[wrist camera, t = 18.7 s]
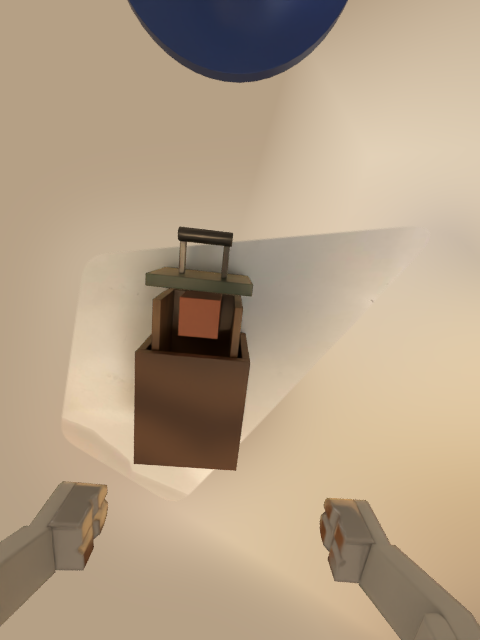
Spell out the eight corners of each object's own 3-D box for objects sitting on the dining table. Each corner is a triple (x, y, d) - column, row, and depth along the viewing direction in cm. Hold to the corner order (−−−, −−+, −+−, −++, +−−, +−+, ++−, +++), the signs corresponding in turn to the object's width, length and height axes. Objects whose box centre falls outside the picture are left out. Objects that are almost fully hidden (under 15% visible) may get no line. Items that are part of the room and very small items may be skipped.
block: (186, 290, 33) (179, 296, 29) (222, 293, 34) (220, 300, 29) (184, 324, 35) (177, 335, 30) (219, 327, 35) (217, 339, 31)
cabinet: (159, 324, 36) (134, 351, 27) (245, 333, 37) (250, 362, 28) (156, 413, 40) (133, 463, 31) (234, 419, 41) (236, 470, 31)
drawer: (166, 226, 32) (146, 221, 25) (252, 236, 33) (259, 234, 26) (160, 360, 37) (143, 389, 29) (237, 367, 37) (239, 397, 30)
